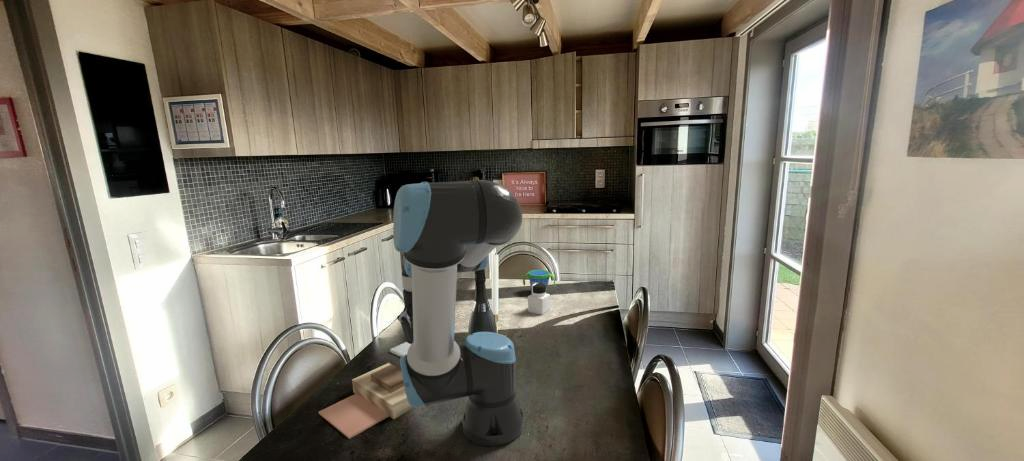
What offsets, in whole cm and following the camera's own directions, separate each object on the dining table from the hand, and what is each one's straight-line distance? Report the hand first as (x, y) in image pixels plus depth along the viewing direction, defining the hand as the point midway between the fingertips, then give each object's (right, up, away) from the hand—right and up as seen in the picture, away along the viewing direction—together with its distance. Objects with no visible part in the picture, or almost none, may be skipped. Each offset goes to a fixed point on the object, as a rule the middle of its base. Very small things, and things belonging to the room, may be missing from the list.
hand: (421, 362), depth 123 cm
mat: (-14, -9, -16) cm, 23 cm away
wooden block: (-7, -3, -8) cm, 10 cm away
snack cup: (+41, +9, +75) cm, 86 cm away
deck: (-7, -7, -7) cm, 12 cm away
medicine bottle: (+39, +5, +52) cm, 65 cm away
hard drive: (-8, -3, +18) cm, 20 cm away
